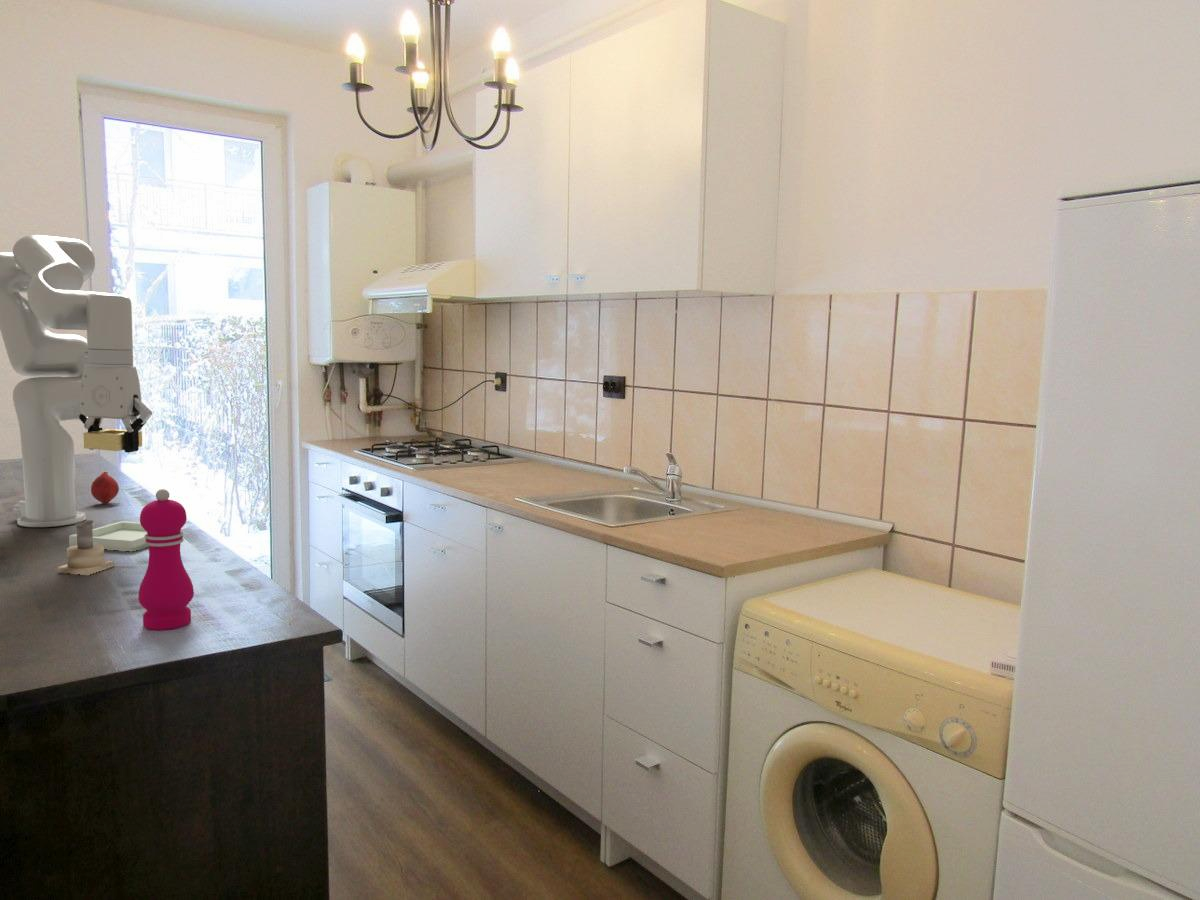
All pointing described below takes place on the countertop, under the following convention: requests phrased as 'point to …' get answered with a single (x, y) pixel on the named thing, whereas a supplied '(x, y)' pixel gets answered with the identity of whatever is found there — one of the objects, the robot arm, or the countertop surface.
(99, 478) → the onion
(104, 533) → the tray
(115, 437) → the ring
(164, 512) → the pepper mill
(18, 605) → the countertop surface
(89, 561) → the beige post on base
